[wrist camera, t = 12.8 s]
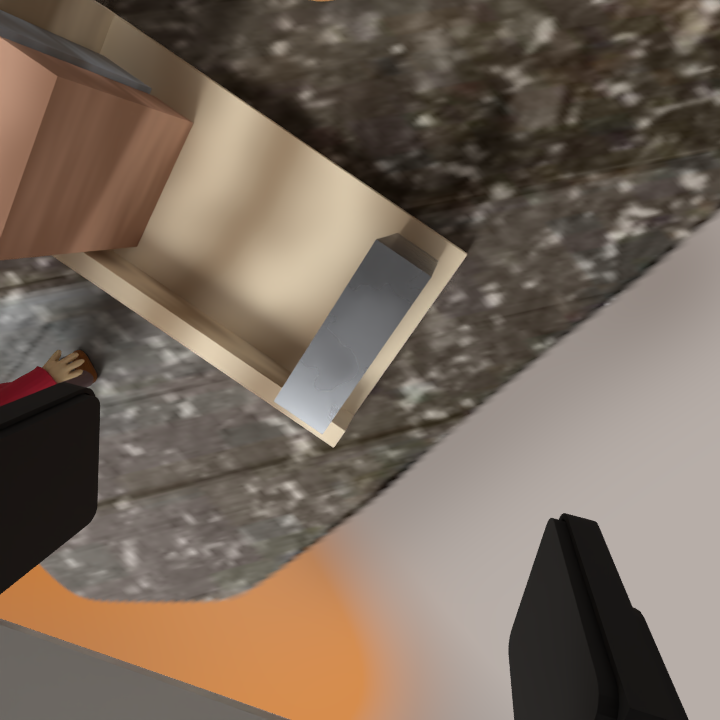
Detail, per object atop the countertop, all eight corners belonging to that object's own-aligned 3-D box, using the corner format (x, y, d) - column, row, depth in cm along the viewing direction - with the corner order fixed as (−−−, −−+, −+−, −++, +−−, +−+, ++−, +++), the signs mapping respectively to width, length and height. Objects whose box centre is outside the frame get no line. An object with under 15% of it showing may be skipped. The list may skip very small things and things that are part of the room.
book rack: (31, 207, 31) (-224, 202, 19) (105, 6, 27) (-160, -149, 15) (347, 422, 31) (279, 546, 19) (467, 252, 27) (471, 281, 15)
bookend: (317, 357, 28) (273, 401, 22) (397, 233, 26) (376, 239, 19) (354, 383, 28) (322, 434, 22) (438, 260, 26) (431, 277, 19)
